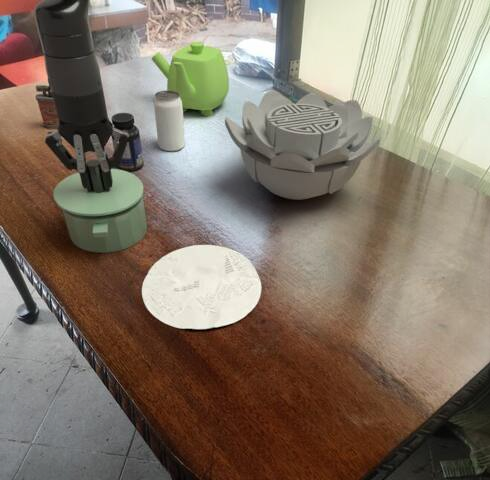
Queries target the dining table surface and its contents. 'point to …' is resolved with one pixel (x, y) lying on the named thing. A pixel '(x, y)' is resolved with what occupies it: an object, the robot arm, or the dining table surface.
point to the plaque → (201, 287)
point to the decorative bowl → (302, 143)
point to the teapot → (196, 76)
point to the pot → (108, 229)
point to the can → (169, 120)
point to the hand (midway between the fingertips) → (98, 188)
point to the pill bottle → (129, 142)
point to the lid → (98, 192)
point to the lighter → (47, 107)
